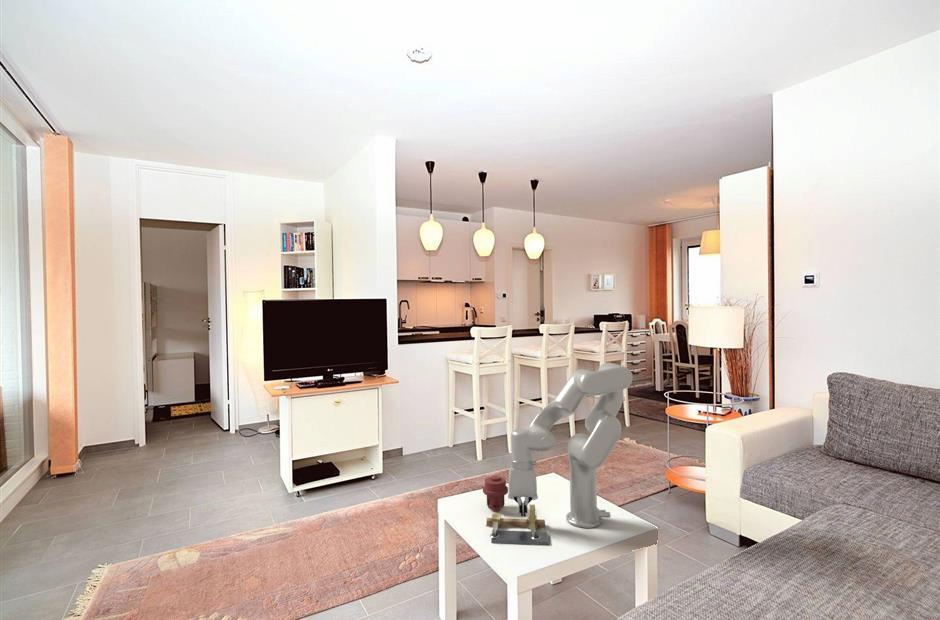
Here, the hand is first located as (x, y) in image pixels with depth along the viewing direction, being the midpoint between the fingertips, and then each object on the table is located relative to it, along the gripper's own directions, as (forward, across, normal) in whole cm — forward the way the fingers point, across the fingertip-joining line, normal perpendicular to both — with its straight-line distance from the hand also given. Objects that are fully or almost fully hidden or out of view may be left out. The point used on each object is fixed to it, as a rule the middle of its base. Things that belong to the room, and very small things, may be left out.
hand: (523, 514), depth 165 cm
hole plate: (+4, +1, +10) cm, 10 cm away
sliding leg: (+4, -3, +4) cm, 7 cm away
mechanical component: (+4, +11, -14) cm, 18 cm away
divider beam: (+4, +3, +4) cm, 7 cm away
